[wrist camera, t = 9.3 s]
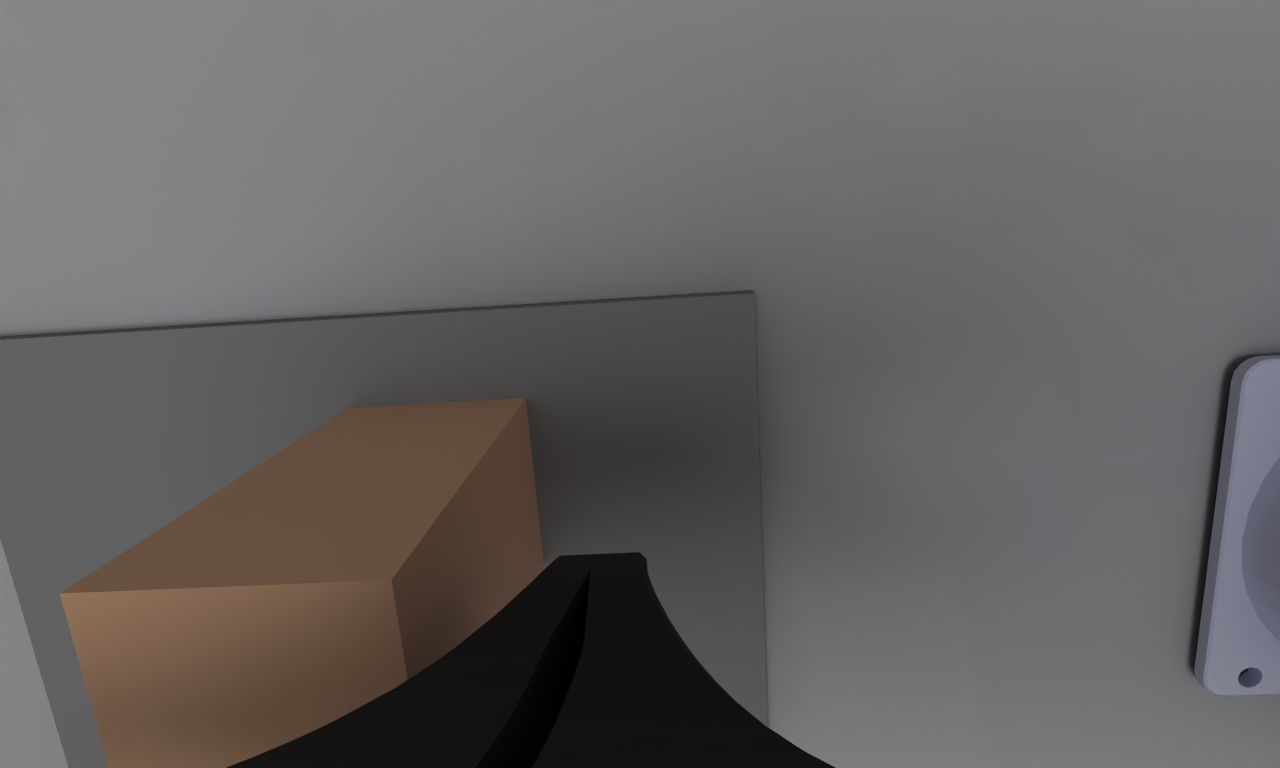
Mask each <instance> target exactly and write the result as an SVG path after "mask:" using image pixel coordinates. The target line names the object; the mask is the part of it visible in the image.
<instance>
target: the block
mask: <svg viewBox="0 0 1280 768" xmlns="http://www.w3.org/2000/svg"><path fill="white" fill-rule="evenodd" d="M543 566H544V560H543V551H542V542H541V532H540V523H539V514H538V505H537V496H536V486H535V477H534V468H533V459H532V450H531V440H530V431H529V422H528V413H527V404H526V398H516V399H498V400H480V401H462V402H444V403H426V404H407V405H389V406H371V407H353V408H347V409H345V410H344V411H342V412H341V413H339V414H338V415H336V416H335V417H333V418H331V419H330V420H328V421H327V422H325V423H324V424H322V425H321V426H319V427H317V428H316V429H314V430H313V431H311V432H310V433H308V434H307V435H305V436H303V437H302V438H300V439H299V440H297V441H296V442H294V443H293V444H291V445H290V446H288V447H286V448H285V449H283V450H282V451H280V452H279V453H277V454H276V455H274V456H272V457H271V458H269V459H268V460H266V461H265V462H263V463H262V464H260V465H258V466H257V467H255V468H254V469H252V470H251V471H249V472H248V473H246V474H244V475H243V476H241V477H240V478H238V479H237V480H235V481H234V482H232V483H230V484H229V485H227V486H226V487H224V488H223V489H221V490H220V491H218V492H216V493H215V494H213V495H212V496H210V497H209V498H207V499H206V500H204V501H203V502H201V503H199V504H198V505H196V506H195V507H193V508H192V509H190V510H189V511H187V512H185V513H184V514H182V515H181V516H179V517H178V518H176V519H175V520H173V521H171V522H170V523H168V524H167V525H165V526H164V527H162V528H161V529H159V530H157V531H156V532H154V533H153V534H151V535H150V536H148V537H147V538H145V539H143V540H142V541H140V542H139V543H137V544H136V545H134V546H133V547H131V548H129V549H128V550H126V551H125V552H123V553H122V554H120V555H119V556H117V557H116V558H114V559H112V560H111V561H109V562H108V563H106V564H105V565H103V566H102V567H100V568H98V569H97V570H95V571H94V572H92V573H91V574H89V575H88V576H86V577H84V578H83V579H81V580H80V581H78V582H77V583H75V584H74V585H72V586H70V587H69V588H67V589H66V590H64V591H63V592H61V593H60V597H61V601H62V604H63V608H64V611H65V615H66V618H67V622H68V625H69V629H70V632H71V636H72V639H73V643H74V647H75V650H76V654H77V657H78V661H79V664H80V668H81V671H82V675H83V678H84V682H85V685H86V689H87V692H88V696H89V699H90V703H91V707H92V710H93V714H94V717H95V721H96V724H97V728H98V731H99V735H100V738H101V742H102V745H103V749H104V752H105V756H106V759H107V763H108V767H109V768H226V767H229V766H231V765H234V764H236V763H239V762H242V761H244V760H247V759H249V758H252V757H254V756H257V755H259V754H261V753H264V752H266V751H269V750H271V749H273V748H276V747H278V746H281V745H283V744H285V743H288V742H290V741H292V740H294V739H297V738H299V737H301V736H303V735H305V734H308V733H310V732H312V731H314V730H316V729H318V728H321V727H323V726H325V725H327V724H329V723H331V722H333V721H335V720H337V719H338V718H340V717H342V716H344V715H346V714H348V713H350V712H351V711H353V710H355V709H357V708H359V707H361V706H363V705H364V704H366V703H368V702H370V701H372V700H374V699H376V698H377V697H379V696H381V695H383V694H385V693H387V692H389V691H390V690H392V689H394V688H395V687H397V686H399V685H400V684H402V683H404V682H405V681H407V680H408V679H410V678H411V677H413V676H414V675H416V674H417V673H419V672H421V671H422V670H424V669H425V668H427V667H428V666H430V665H431V664H433V663H434V662H436V661H437V660H438V659H440V658H441V657H443V656H444V655H445V654H447V653H448V652H450V651H451V650H452V649H454V648H455V647H456V646H458V645H459V644H460V643H461V642H462V641H464V640H465V639H466V638H467V637H469V636H470V635H471V634H472V633H474V632H475V631H476V630H477V629H478V628H480V627H481V626H482V625H483V624H485V623H486V622H487V621H488V620H490V619H491V618H492V617H493V616H494V615H496V614H497V613H498V612H499V611H500V610H501V609H503V608H504V607H505V606H506V605H507V604H508V603H509V602H510V601H511V600H512V599H513V598H515V597H516V596H517V595H518V594H519V593H520V592H521V591H522V590H523V589H524V588H525V587H527V586H528V585H529V584H530V583H531V582H532V581H533V580H534V579H535V578H536V577H537V576H538V575H539V574H540V573H541V571H542V568H543Z"/></svg>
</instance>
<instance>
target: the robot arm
mask: <svg viewBox="0 0 1280 768" xmlns="http://www.w3.org/2000/svg"><path fill="white" fill-rule="evenodd" d="M1247 668H1248V671H1247V672H1246V673H1245V674H1243V675H1242V676H1239V675H1240V673H1241V672H1242V671H1243V670H1245V669H1247ZM1194 670H1195V677H1196V679H1197V680H1198V681H1199V683H1200V684H1201V685H1202V686H1204V687H1205V688H1206V689H1207V690H1208V691H1209V692H1211V693H1213V694H1215V695H1221V696H1232V695H1267V694H1280V355H1267V356H1257V357H1252V358H1249V359H1247V360H1246V361H1244V362H1242V363H1241V364H1240V365H1239V366H1238V367H1237V369H1236V370H1235V371H1234V374H1233V377H1232V380H1231V386H1230V394H1229V402H1228V410H1227V418H1226V425H1225V433H1224V441H1223V449H1222V457H1221V465H1220V473H1219V480H1218V488H1217V496H1216V504H1215V512H1214V520H1213V528H1212V536H1211V543H1210V551H1209V559H1208V567H1207V575H1206V583H1205V591H1204V598H1203V606H1202V614H1201V622H1200V630H1199V638H1198V646H1197V654H1196V661H1195V669H1194ZM226 768H835V767H833V766H831V765H829V764H827V763H826V762H824V761H822V760H820V759H818V758H816V757H814V756H812V755H810V754H808V753H807V752H805V751H803V750H801V749H800V748H798V747H797V746H795V745H794V744H792V743H791V742H789V741H788V740H786V739H785V738H783V737H782V736H780V735H779V734H777V733H776V732H774V731H773V730H771V729H770V728H768V727H767V726H765V725H764V724H763V723H762V722H760V721H759V720H758V719H757V718H756V717H754V716H753V715H752V714H751V713H750V712H748V711H747V710H746V709H745V708H743V707H742V706H741V705H740V704H739V703H737V702H736V701H735V700H734V699H733V698H732V697H731V696H730V695H729V694H728V693H727V692H726V691H725V690H724V689H723V688H722V687H721V686H720V685H719V684H718V683H717V682H716V681H715V680H714V678H713V677H712V676H711V675H710V674H709V673H708V672H707V671H706V669H705V668H704V667H703V666H702V665H701V664H700V662H699V661H698V660H697V659H696V657H695V656H694V655H693V653H692V652H691V651H690V649H689V648H688V647H687V645H686V644H685V642H684V641H683V639H682V638H681V637H680V635H679V634H678V632H677V631H676V629H675V627H674V626H673V624H672V623H671V621H670V619H669V618H668V616H667V614H666V612H665V610H664V608H663V607H662V605H661V603H660V601H659V599H658V597H657V595H656V593H655V591H654V588H653V586H652V583H651V581H650V578H649V575H648V568H647V559H646V558H645V557H644V556H643V555H642V554H641V553H640V552H631V553H608V554H584V555H560V556H559V557H557V558H556V559H555V560H554V561H553V562H552V563H551V564H550V565H548V566H547V567H546V568H545V569H544V570H543V571H542V572H541V573H540V574H539V575H538V576H537V577H536V578H535V579H534V580H533V581H532V582H531V583H530V584H529V585H528V586H527V587H525V588H524V589H523V590H522V591H521V592H520V593H519V594H518V595H517V596H516V597H515V598H513V599H512V600H511V601H510V602H509V603H508V604H507V605H506V606H505V607H504V608H503V609H501V610H500V611H499V612H498V613H497V614H496V615H494V616H493V617H492V618H491V619H490V620H488V621H487V622H486V623H485V624H483V625H482V626H481V627H480V628H478V629H477V630H476V631H475V632H474V633H472V634H471V635H470V636H469V637H467V638H466V639H465V640H464V641H462V642H461V643H460V644H459V645H458V646H456V647H455V648H454V649H452V650H451V651H450V652H448V653H447V654H445V655H444V656H443V657H441V658H440V659H438V660H437V661H436V662H434V663H433V664H431V665H430V666H428V667H427V668H425V669H424V670H422V671H421V672H419V673H417V674H416V675H414V676H413V677H411V678H410V679H408V680H407V681H405V682H404V683H402V684H400V685H399V686H397V687H395V688H394V689H392V690H390V691H389V692H387V693H385V694H383V695H381V696H379V697H377V698H376V699H374V700H372V701H370V702H368V703H366V704H364V705H363V706H361V707H359V708H357V709H355V710H353V711H351V712H350V713H348V714H346V715H344V716H342V717H340V718H338V719H337V720H335V721H333V722H331V723H329V724H327V725H325V726H323V727H321V728H318V729H316V730H314V731H312V732H310V733H308V734H305V735H303V736H301V737H299V738H297V739H294V740H292V741H290V742H288V743H285V744H283V745H281V746H278V747H276V748H273V749H271V750H269V751H266V752H264V753H261V754H259V755H257V756H254V757H252V758H249V759H247V760H244V761H242V762H239V763H236V764H234V765H231V766H229V767H226Z"/></svg>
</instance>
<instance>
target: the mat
mask: <svg viewBox="0 0 1280 768" xmlns="http://www.w3.org/2000/svg"><path fill="white" fill-rule="evenodd" d="M516 398H526V404H527V413H528V422H529V431H530V440H531V450H532V459H533V468H534V477H535V486H536V496H537V505H538V514H539V523H540V532H541V542H542V551H543V560H544V566H543V568H542V571H543V570H544V569H545V568H546V567H547V566H548V565H550V564H551V563H552V562H553V561H554V560H555V559H556V558H557V557H559V556H560V555H584V554H608V553H631V552H640V553H641V554H642V555H643V556H644V557H645V558H646V559H647V568H648V575H649V578H650V581H651V583H652V586H653V588H654V591H655V593H656V595H657V597H658V599H659V601H660V603H661V605H662V607H663V608H664V610H665V612H666V614H667V616H668V618H669V619H670V621H671V623H672V624H673V626H674V627H675V629H676V631H677V632H678V634H679V635H680V637H681V638H682V639H683V641H684V642H685V644H686V645H687V647H688V648H689V649H690V651H691V652H692V653H693V655H694V656H695V657H696V659H697V660H698V661H699V662H700V664H701V665H702V666H703V667H704V668H705V669H706V671H707V672H708V673H709V674H710V675H711V676H712V677H713V678H714V680H715V681H716V682H717V683H718V684H719V685H720V686H721V687H722V688H723V689H724V690H725V691H726V692H727V693H728V694H729V695H730V696H731V697H732V698H733V699H734V700H735V701H736V702H737V703H739V704H740V705H741V706H742V707H743V708H745V709H746V710H747V711H748V712H750V713H751V714H752V715H753V716H754V717H756V718H757V719H758V720H759V721H760V722H762V723H763V724H764V725H765V726H767V727H768V714H767V681H766V648H765V615H764V582H763V549H762V516H761V483H760V450H759V418H758V385H757V352H756V319H755V293H754V292H753V291H736V292H720V293H704V294H688V295H672V296H656V297H639V298H623V299H607V300H591V301H575V302H559V303H542V304H526V305H510V306H494V307H478V308H462V309H445V310H429V311H413V312H397V313H381V314H365V315H348V316H332V317H316V318H300V319H284V320H267V321H251V322H235V323H219V324H203V325H187V326H170V327H154V328H138V329H122V330H106V331H90V332H73V333H57V334H41V335H25V336H9V337H0V538H1V542H2V545H3V548H4V552H5V555H6V558H7V562H8V565H9V568H10V572H11V575H12V578H13V582H14V585H15V589H16V592H17V595H18V599H19V602H20V605H21V609H22V612H23V615H24V619H25V622H26V626H27V629H28V632H29V636H30V639H31V642H32V646H33V649H34V652H35V656H36V659H37V662H38V666H39V669H40V673H41V676H42V679H43V683H44V686H45V689H46V693H47V696H48V699H49V703H50V706H51V710H52V713H53V716H54V720H55V723H56V726H57V730H58V733H59V736H60V740H61V743H62V746H63V750H64V753H65V757H66V760H67V763H68V767H69V768H109V767H108V763H107V759H106V756H105V752H104V749H103V745H102V742H101V738H100V735H99V731H98V728H97V724H96V721H95V717H94V714H93V710H92V707H91V703H90V699H89V696H88V692H87V689H86V685H85V682H84V678H83V675H82V671H81V668H80V664H79V661H78V657H77V654H76V650H75V647H74V643H73V639H72V636H71V632H70V629H69V625H68V622H67V618H66V615H65V611H64V608H63V604H62V601H61V597H60V593H61V592H63V591H64V590H66V589H67V588H69V587H70V586H72V585H74V584H75V583H77V582H78V581H80V580H81V579H83V578H84V577H86V576H88V575H89V574H91V573H92V572H94V571H95V570H97V569H98V568H100V567H102V566H103V565H105V564H106V563H108V562H109V561H111V560H112V559H114V558H116V557H117V556H119V555H120V554H122V553H123V552H125V551H126V550H128V549H129V548H131V547H133V546H134V545H136V544H137V543H139V542H140V541H142V540H143V539H145V538H147V537H148V536H150V535H151V534H153V533H154V532H156V531H157V530H159V529H161V528H162V527H164V526H165V525H167V524H168V523H170V522H171V521H173V520H175V519H176V518H178V517H179V516H181V515H182V514H184V513H185V512H187V511H189V510H190V509H192V508H193V507H195V506H196V505H198V504H199V503H201V502H203V501H204V500H206V499H207V498H209V497H210V496H212V495H213V494H215V493H216V492H218V491H220V490H221V489H223V488H224V487H226V486H227V485H229V484H230V483H232V482H234V481H235V480H237V479H238V478H240V477H241V476H243V475H244V474H246V473H248V472H249V471H251V470H252V469H254V468H255V467H257V466H258V465H260V464H262V463H263V462H265V461H266V460H268V459H269V458H271V457H272V456H274V455H276V454H277V453H279V452H280V451H282V450H283V449H285V448H286V447H288V446H290V445H291V444H293V443H294V442H296V441H297V440H299V439H300V438H302V437H303V436H305V435H307V434H308V433H310V432H311V431H313V430H314V429H316V428H317V427H319V426H321V425H322V424H324V423H325V422H327V421H328V420H330V419H331V418H333V417H335V416H336V415H338V414H339V413H341V412H342V411H344V410H345V409H347V408H353V407H371V406H389V405H407V404H426V403H444V402H462V401H480V400H498V399H516ZM542 571H541V572H542Z"/></svg>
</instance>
